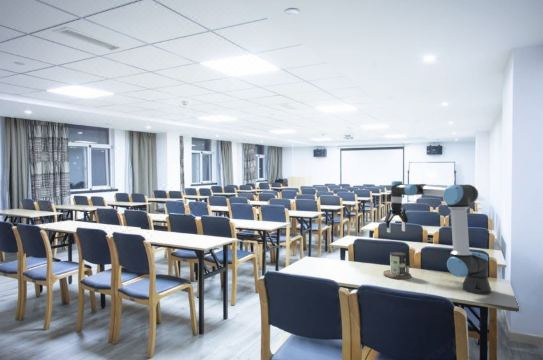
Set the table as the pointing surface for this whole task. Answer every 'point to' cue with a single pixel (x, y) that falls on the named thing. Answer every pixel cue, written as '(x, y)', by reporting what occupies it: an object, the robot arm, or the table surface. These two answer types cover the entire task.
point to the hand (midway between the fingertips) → (396, 231)
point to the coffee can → (397, 262)
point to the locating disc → (398, 274)
